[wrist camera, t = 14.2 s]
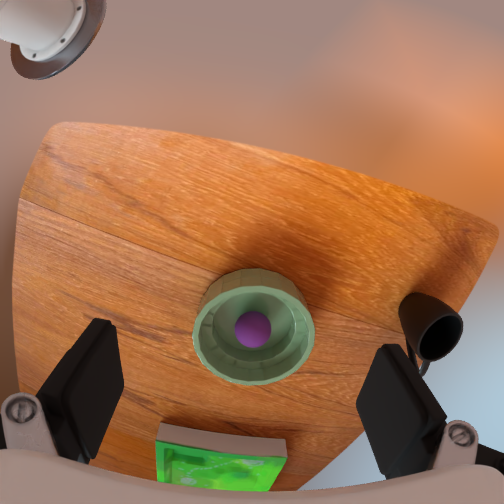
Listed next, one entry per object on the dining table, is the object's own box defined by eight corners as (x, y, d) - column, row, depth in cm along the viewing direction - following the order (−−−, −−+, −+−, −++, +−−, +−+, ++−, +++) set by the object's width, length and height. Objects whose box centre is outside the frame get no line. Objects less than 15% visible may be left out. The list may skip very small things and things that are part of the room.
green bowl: (176, 309, 43) (167, 331, 37) (262, 244, 40) (265, 260, 35) (244, 374, 47) (245, 400, 41) (326, 322, 44) (336, 345, 39)
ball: (227, 317, 43) (225, 337, 38) (255, 297, 42) (256, 317, 37) (249, 339, 44) (250, 360, 40) (277, 321, 43) (280, 342, 39)
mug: (376, 347, 46) (398, 384, 37) (400, 282, 43) (430, 311, 34) (415, 347, 47) (439, 380, 38) (439, 286, 43) (471, 313, 34)
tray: (258, 489, 61) (259, 504, 56) (161, 476, 59) (158, 491, 54) (285, 439, 53) (287, 457, 49) (160, 422, 51) (155, 441, 46)
